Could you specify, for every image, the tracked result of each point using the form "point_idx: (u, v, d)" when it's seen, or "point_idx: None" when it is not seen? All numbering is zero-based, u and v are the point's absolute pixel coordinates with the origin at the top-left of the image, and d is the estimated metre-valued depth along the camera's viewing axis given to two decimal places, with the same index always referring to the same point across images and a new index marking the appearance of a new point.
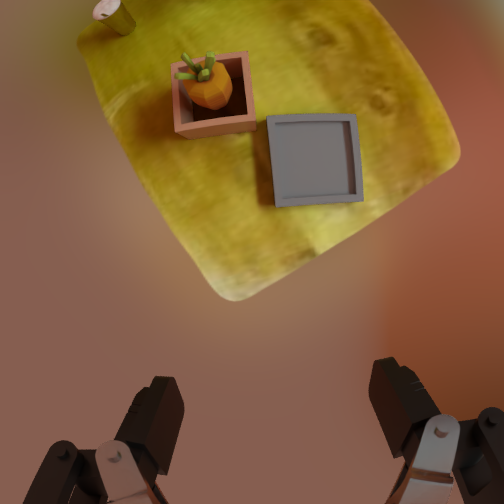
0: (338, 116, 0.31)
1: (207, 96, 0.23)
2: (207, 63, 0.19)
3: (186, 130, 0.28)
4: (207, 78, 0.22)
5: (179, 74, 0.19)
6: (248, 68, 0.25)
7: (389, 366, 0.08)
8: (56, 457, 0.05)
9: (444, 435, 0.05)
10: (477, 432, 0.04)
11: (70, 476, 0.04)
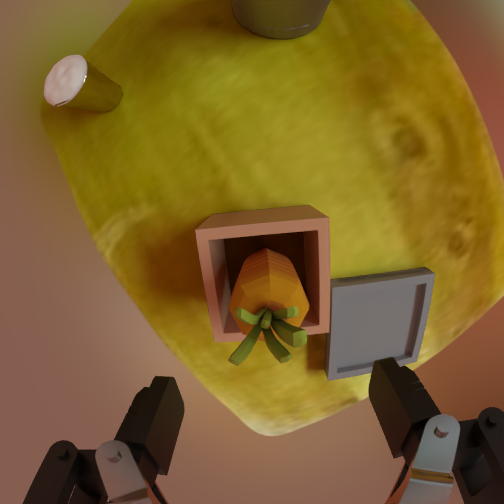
0: (416, 280, 0.24)
1: None
2: None
3: None
4: None
5: (240, 361, 0.13)
6: (327, 253, 0.19)
7: (389, 366, 0.08)
8: (56, 457, 0.05)
9: (444, 435, 0.05)
10: (477, 432, 0.04)
11: (70, 475, 0.04)
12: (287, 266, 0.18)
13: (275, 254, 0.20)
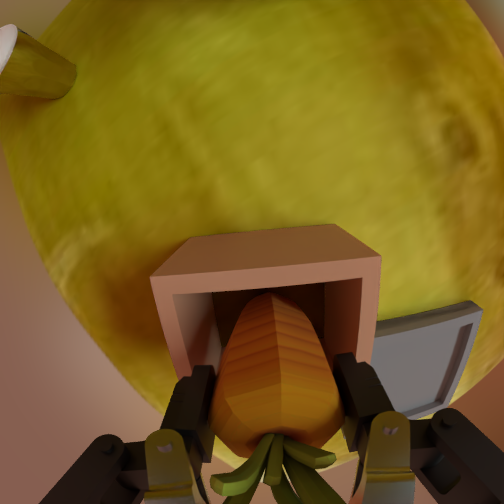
0: (462, 320, 0.16)
1: None
2: None
3: None
4: None
5: None
6: (374, 312, 0.10)
7: (346, 361, 0.09)
8: (99, 451, 0.05)
9: (391, 432, 0.05)
10: (433, 435, 0.05)
11: (110, 472, 0.05)
12: (310, 345, 0.09)
13: (287, 314, 0.12)
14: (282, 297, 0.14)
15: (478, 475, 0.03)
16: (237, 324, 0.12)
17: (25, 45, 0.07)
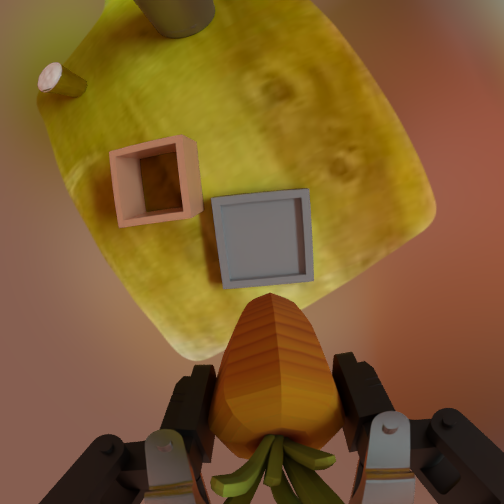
0: (288, 193, 0.33)
1: None
2: None
3: (129, 225, 0.29)
4: None
5: None
6: (182, 157, 0.27)
7: (346, 360, 0.09)
8: (99, 451, 0.05)
9: (391, 432, 0.05)
10: (432, 435, 0.05)
11: (110, 472, 0.05)
12: (310, 347, 0.09)
13: (287, 315, 0.12)
14: (282, 298, 0.14)
15: (478, 475, 0.03)
16: (237, 326, 0.12)
17: (65, 73, 0.24)
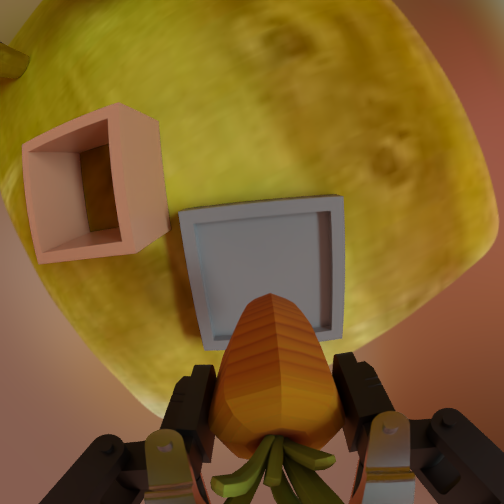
0: (309, 204, 0.19)
1: None
2: None
3: None
4: None
5: None
6: (118, 142, 0.13)
7: (346, 360, 0.09)
8: (99, 451, 0.05)
9: (391, 432, 0.05)
10: (432, 435, 0.05)
11: (110, 472, 0.05)
12: (310, 347, 0.09)
13: (287, 316, 0.12)
14: (282, 299, 0.14)
15: (478, 475, 0.03)
16: (237, 326, 0.12)
17: None
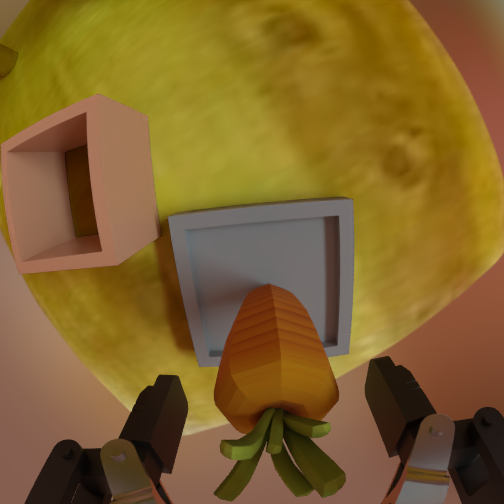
0: (315, 208, 0.17)
1: None
2: None
3: None
4: None
5: (232, 500, 0.06)
6: (97, 138, 0.11)
7: (385, 365, 0.08)
8: (60, 456, 0.05)
9: (439, 434, 0.05)
10: (473, 431, 0.04)
11: (73, 475, 0.04)
12: (306, 329, 0.11)
13: (285, 302, 0.13)
14: (280, 288, 0.16)
15: None
16: (240, 312, 0.13)
17: None
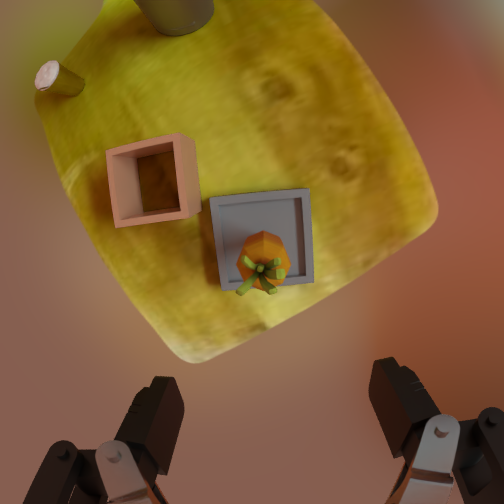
0: (288, 193, 0.32)
1: None
2: (275, 279, 0.20)
3: (125, 225, 0.29)
4: None
5: (243, 292, 0.21)
6: (180, 155, 0.26)
7: (389, 366, 0.08)
8: (56, 457, 0.05)
9: (444, 435, 0.05)
10: (477, 432, 0.04)
11: (70, 476, 0.04)
12: (276, 238, 0.26)
13: None
14: None
15: None
16: (248, 237, 0.28)
17: (62, 71, 0.23)
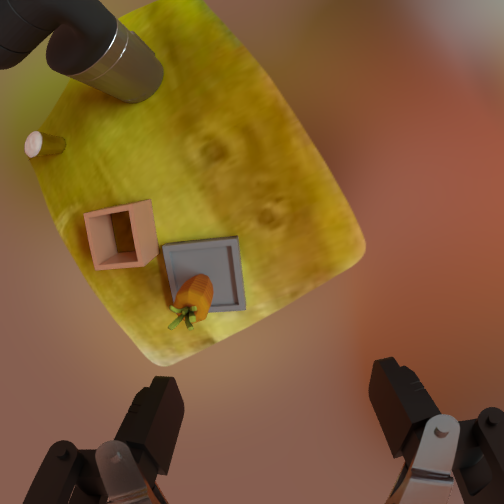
0: (220, 242, 0.41)
1: (193, 322, 0.34)
2: None
3: None
4: None
5: (172, 328, 0.30)
6: (134, 221, 0.36)
7: (389, 366, 0.08)
8: (56, 457, 0.05)
9: (444, 435, 0.05)
10: (477, 432, 0.04)
11: (70, 475, 0.04)
12: (202, 286, 0.35)
13: (200, 279, 0.37)
14: (204, 275, 0.40)
15: None
16: (185, 282, 0.37)
17: (45, 140, 0.32)
